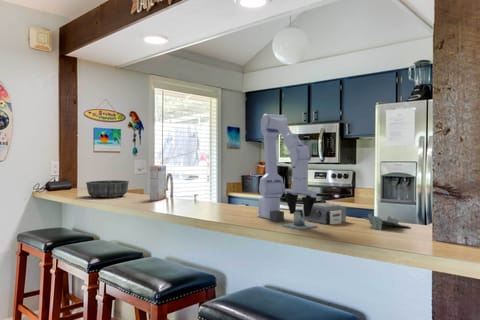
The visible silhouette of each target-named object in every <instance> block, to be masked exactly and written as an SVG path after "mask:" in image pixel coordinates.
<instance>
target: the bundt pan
mask: <svg viewBox="0 0 480 320" xmlns="http://www.w3.org/2000/svg"><path fill="white" fill-rule="evenodd" d="M129 183H130V180H115V179H114V180H90V181H86V182H85V184H86V188H87V189H86V190H87V193H88V195H89V196H90V197H92V196H93V197H92V198H96V197H106V198H108V197H110V198H118V197H117V196H121V197H123V196H125V195H126V194H127V192H128V187H129Z"/></svg>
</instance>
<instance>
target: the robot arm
mask: <svg viewBox="0 0 480 320" xmlns="http://www.w3.org/2000/svg"><path fill="white" fill-rule="evenodd" d="M260 133H261V135H263V145H264V162H265V163H264V167H265V168H264V169H265V173H264V174H263V175H262V177H260V179H259V185H258V191H259V194H260V195H261V197H259V199H258V203H257V204H258V205H257V206H258V210H257V211H258V212H257V214H256V216H257V217H258V218H264V219H269V220H270V211H277V210H278V211H281V197H282V196H283V197H284V199H285V201H286V203H287V206H288V211H289V214H290V215H294V211H296V210H297V208H296V207H297V201H298V197H299V196H301V200H302V204H303V205H304V216H305V217H308V216H310V213H311V210H312V207H313V204H315V202H316V201H317V191H313V190H309V162H310V160H311V158H312V149H311V148H310V146H309V145H305V144H304V143H303V142H302V140H301V139H300V138H299V137H298V134H297V133H293V132H292V131H291V128H290V127H289V126H288V118H287V116H286V115H285V114H271V113H264V114H262V117H261V119H260ZM280 135H281V136H282V137H283V144H284V145H285V147H286V148H287V151H288V152H289V160H290V165H291V166H292V168H291V169H292V170H291V171H292V179H291V180H292V181H291V182H292V183H291V184H292V186H291V188H285V184H284V179H283V177H282V176H281V175H280V174H278V160H277V157H278V156H277V142H276V141H277V140H276V139H277V137H278V136H280Z"/></svg>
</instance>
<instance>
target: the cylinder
mask: <svg viewBox="0 0 480 320" xmlns="http://www.w3.org/2000/svg"><path fill="white" fill-rule="evenodd" d="M293 223H294V225H295V226H304V225H305V223H306V220H305V216H304V211H303V209H296V211H294V214H293Z"/></svg>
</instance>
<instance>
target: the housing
mask: <svg viewBox="0 0 480 320" xmlns="http://www.w3.org/2000/svg"><path fill="white" fill-rule="evenodd" d="M302 210H303V211H304V205H303V209H302ZM339 210H341V223H344V222H346V220H347V207H346V206H343V205H341V204H335V203H328V202H318V203H315V202H314V204H313V207H312V210H311V213H310V216H308V217H305V222H306V221H308V222H312V223H316V224H323V225H330V211H339Z"/></svg>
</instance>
